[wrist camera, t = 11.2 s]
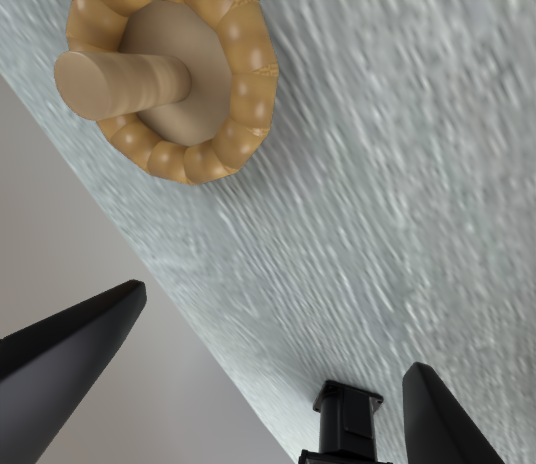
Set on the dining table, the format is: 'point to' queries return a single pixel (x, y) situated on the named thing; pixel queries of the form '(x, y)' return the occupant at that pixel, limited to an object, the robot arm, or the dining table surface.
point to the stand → (154, 75)
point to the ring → (242, 88)
